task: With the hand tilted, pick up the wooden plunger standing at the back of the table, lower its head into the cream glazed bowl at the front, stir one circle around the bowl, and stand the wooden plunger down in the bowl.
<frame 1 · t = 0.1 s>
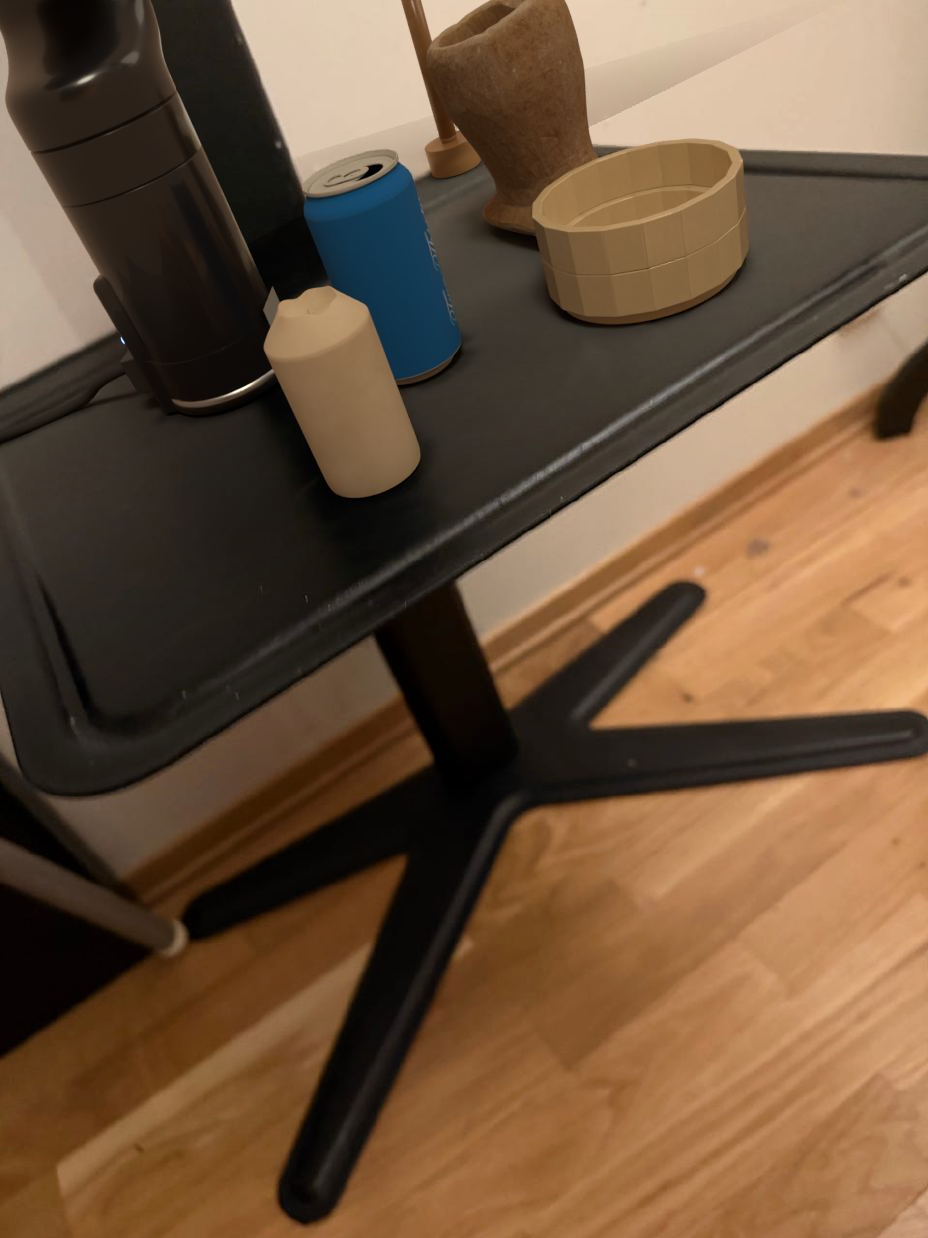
wooden plunger: (456, 167, 84), on the table
bowl: (647, 279, 57), on the table
beverage can: (417, 366, 58), on the table
stone cup: (566, 228, 67), on the table
candle: (376, 471, 50), on the table
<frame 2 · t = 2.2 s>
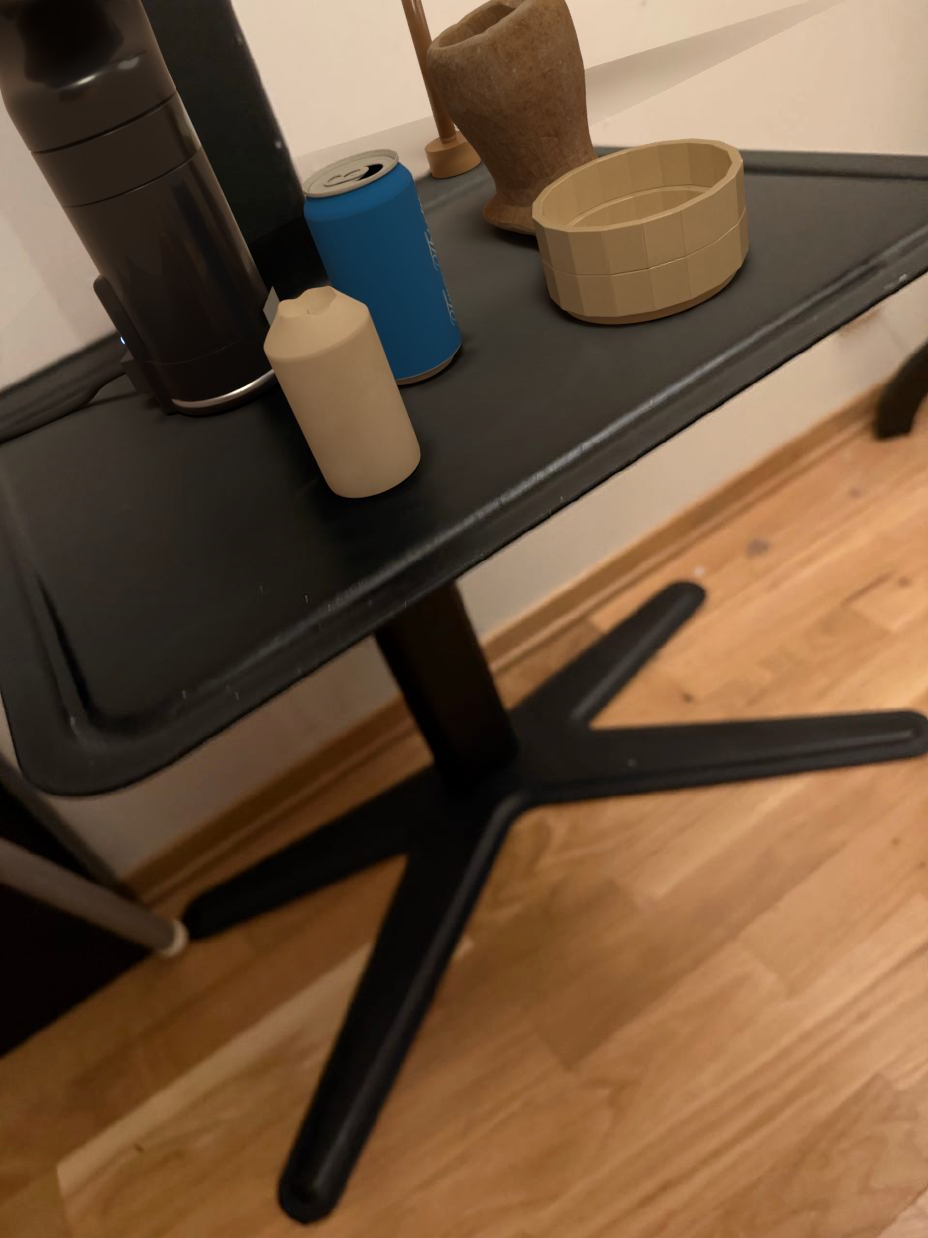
nothing on the table moved.
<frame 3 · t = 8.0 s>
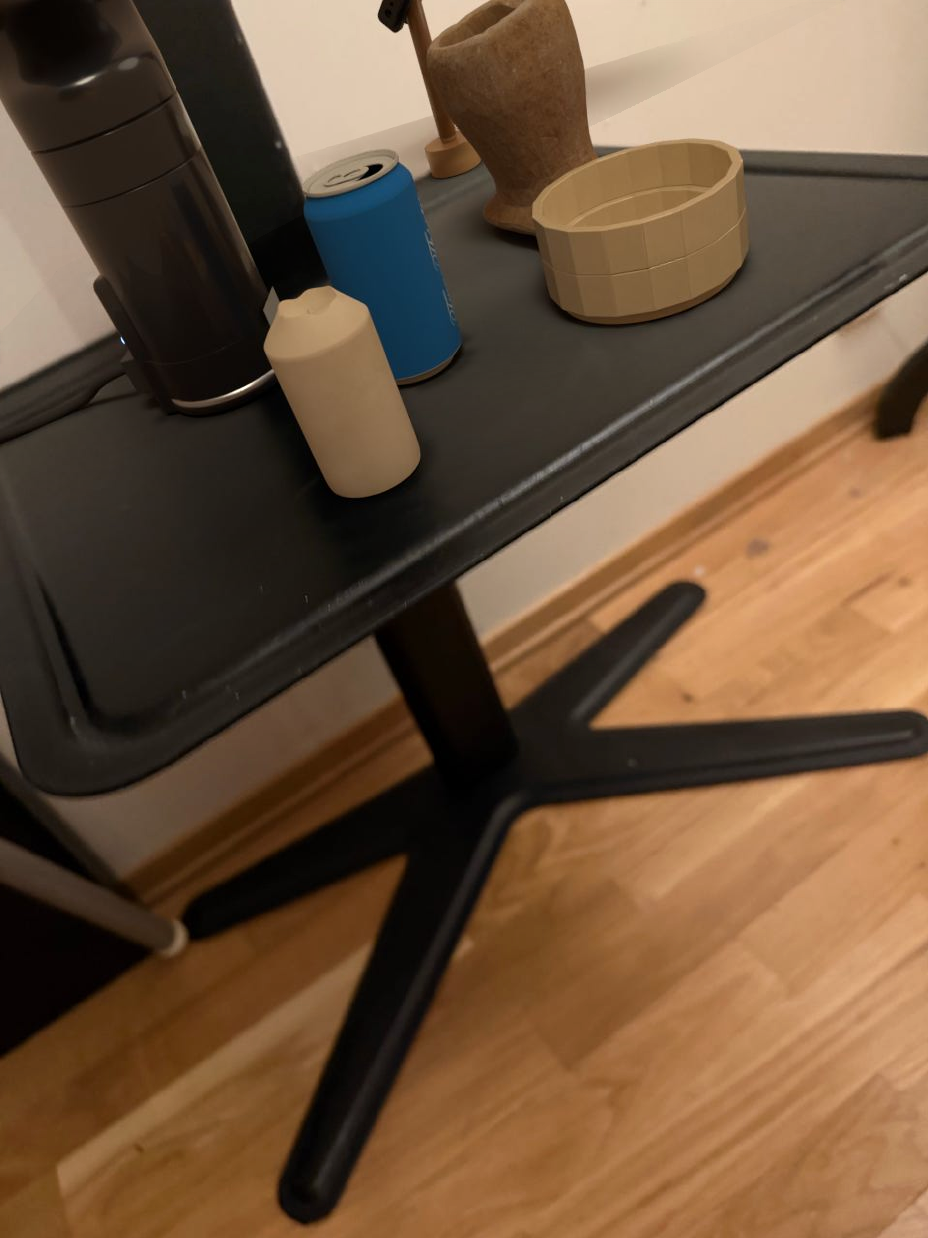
hand: (394, 20, 77), 12 cm above the table, tool tilted 45°, fingers closed on wooden plunger
wooden plunger: (456, 166, 84), on the table, touching gripper
everything else where it was.
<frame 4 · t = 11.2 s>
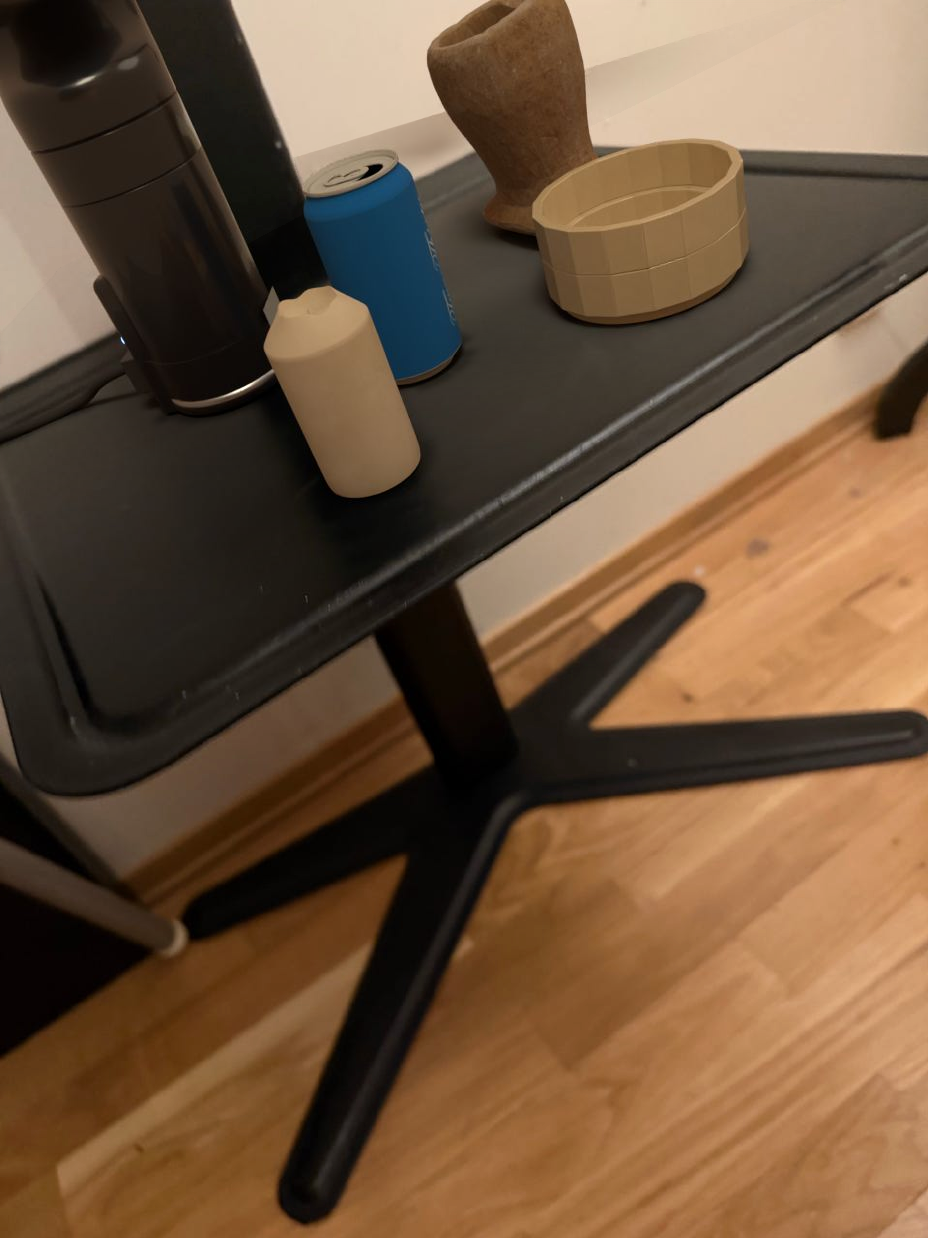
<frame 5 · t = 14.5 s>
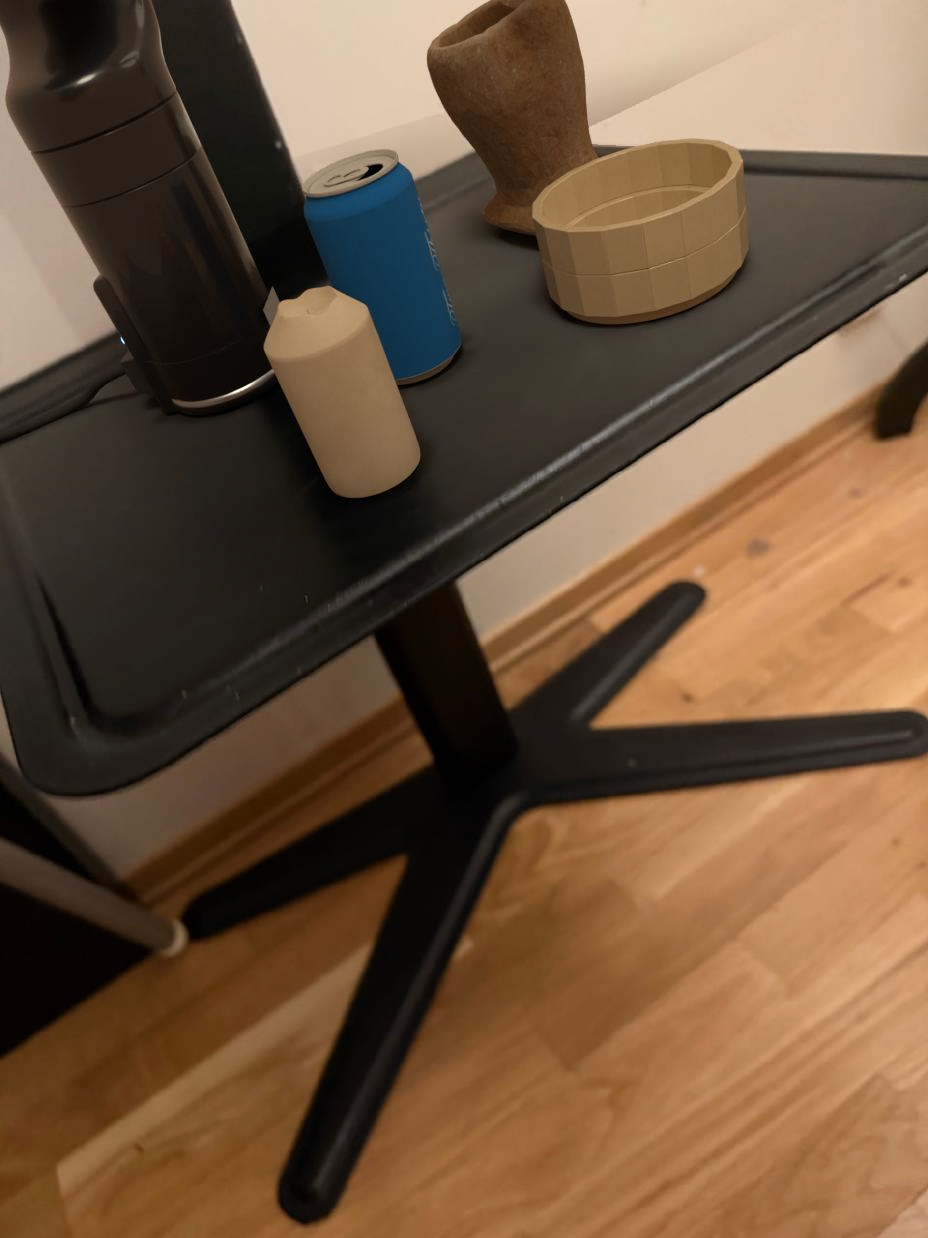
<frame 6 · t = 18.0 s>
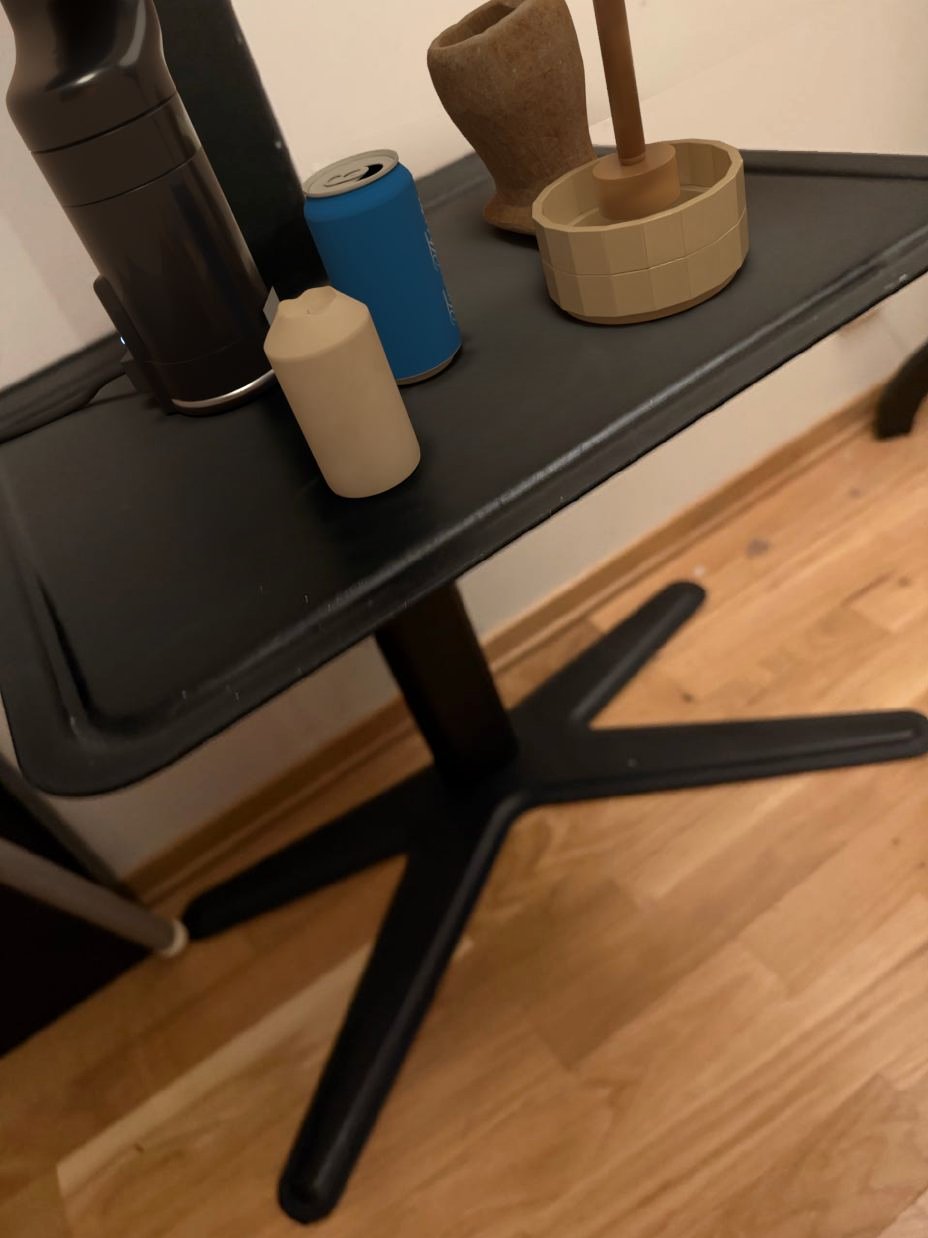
wooden plunger: (639, 201, 54), point 5 cm above the table, touching gripper
everything else where it was.
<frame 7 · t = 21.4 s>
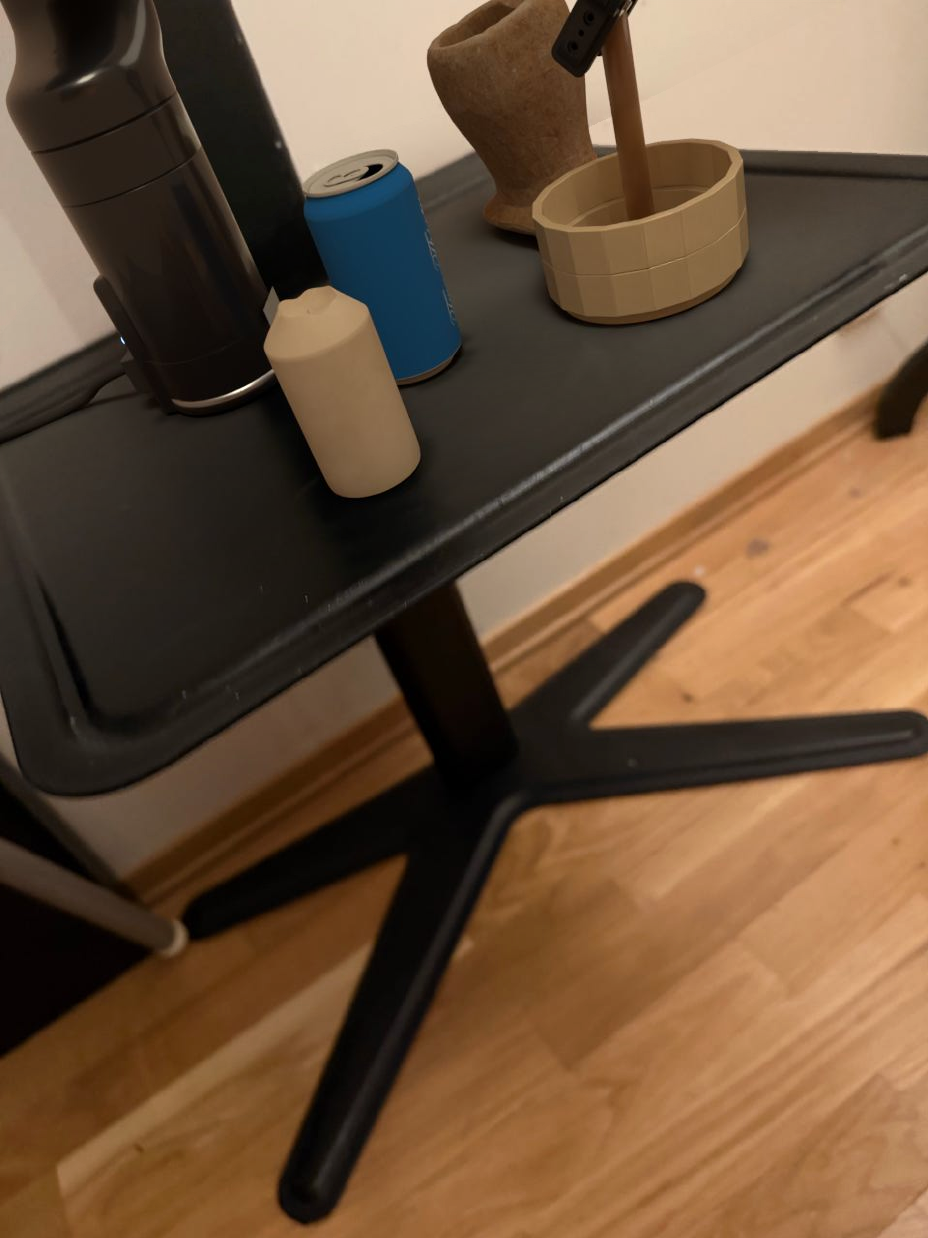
hand: (577, 53, 49), 13 cm above the table, tool tilted 45°, fingers closed
wooden plunger: (648, 266, 56), point 1 cm above the table, touching bowl
everything else where it was.
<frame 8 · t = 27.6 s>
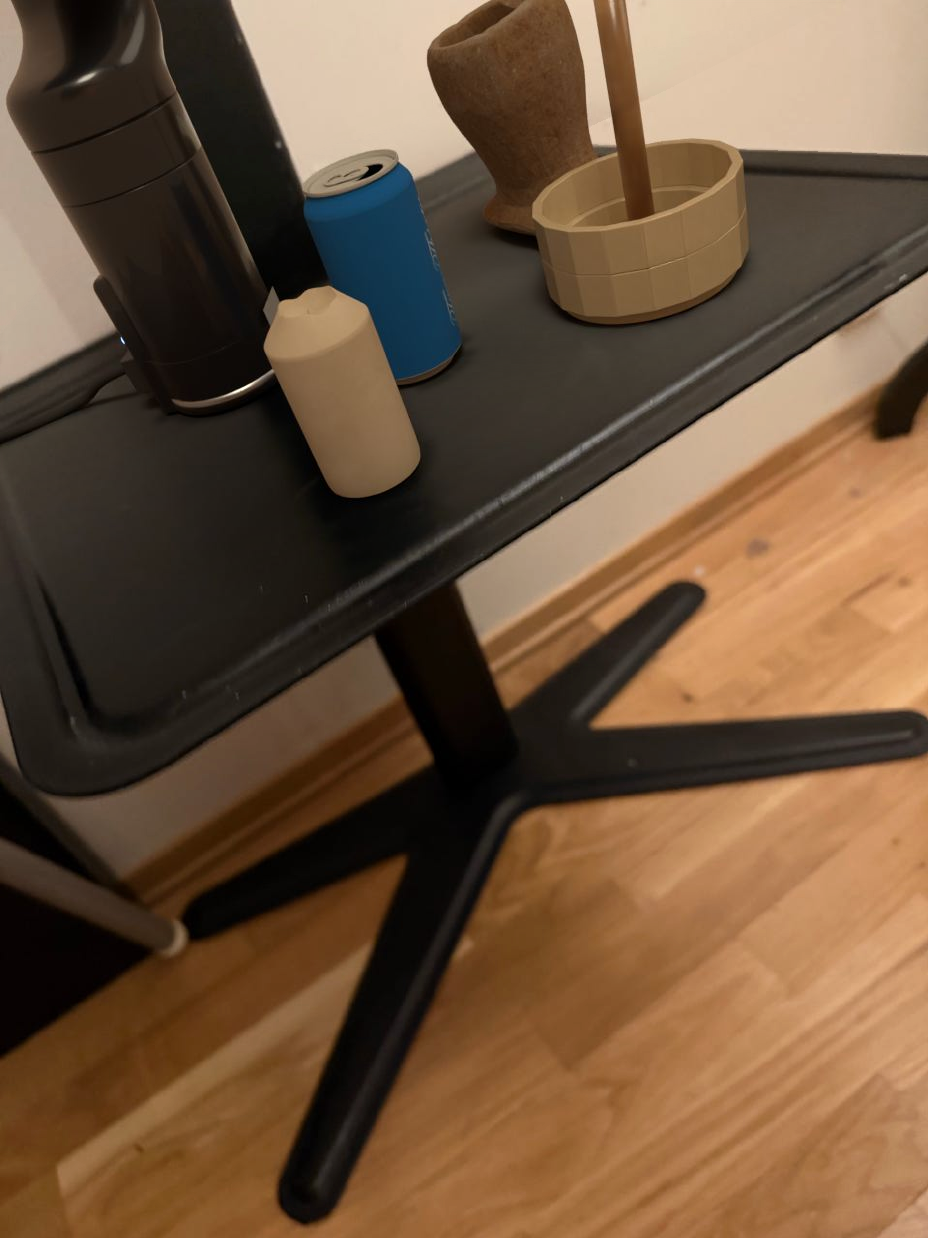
nothing on the table moved.
at the end: wooden plunger inside the target area in the bowl (0.2 cm from its centre), point 0.8 cm above the bowl's base; the gripper is holding nothing; wooden plunger moved 36.3 cm from its start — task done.
